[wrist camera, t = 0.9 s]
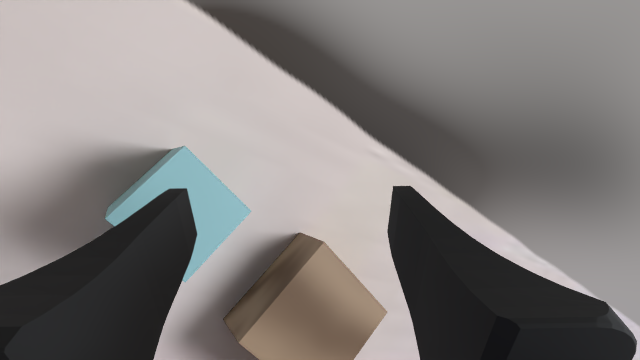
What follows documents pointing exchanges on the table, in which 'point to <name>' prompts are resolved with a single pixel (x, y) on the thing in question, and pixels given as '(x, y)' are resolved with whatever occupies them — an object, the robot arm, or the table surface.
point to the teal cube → (205, 198)
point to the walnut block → (305, 308)
